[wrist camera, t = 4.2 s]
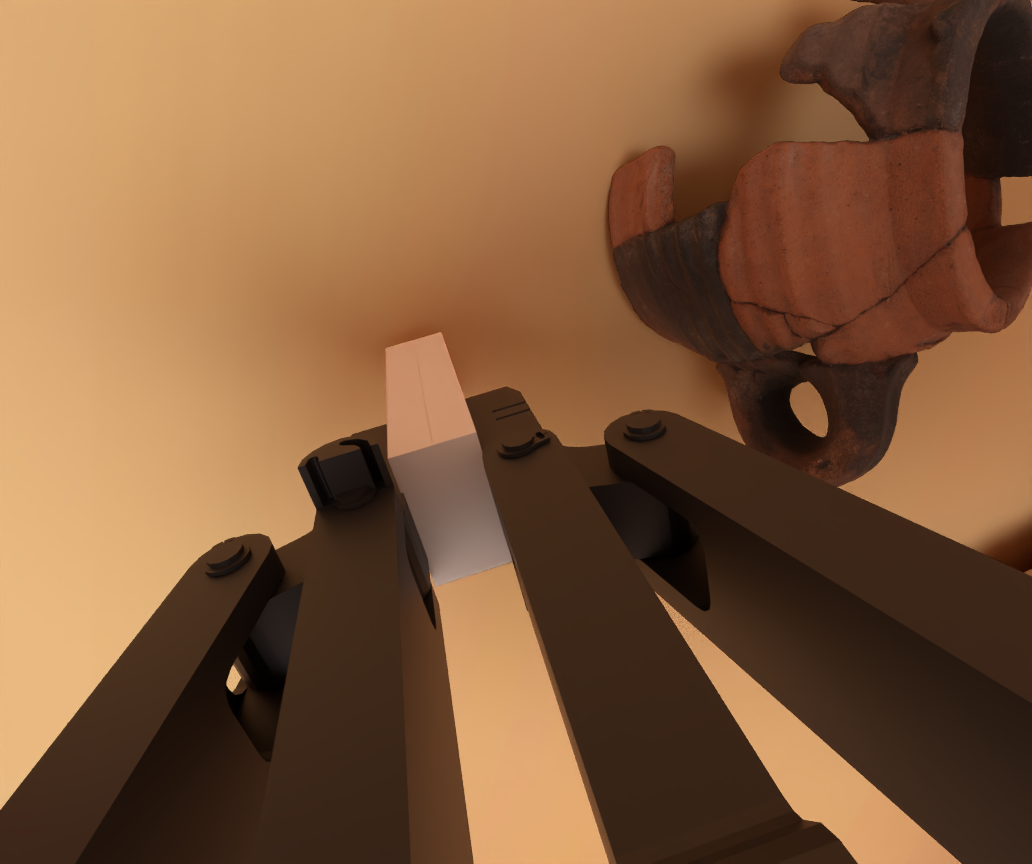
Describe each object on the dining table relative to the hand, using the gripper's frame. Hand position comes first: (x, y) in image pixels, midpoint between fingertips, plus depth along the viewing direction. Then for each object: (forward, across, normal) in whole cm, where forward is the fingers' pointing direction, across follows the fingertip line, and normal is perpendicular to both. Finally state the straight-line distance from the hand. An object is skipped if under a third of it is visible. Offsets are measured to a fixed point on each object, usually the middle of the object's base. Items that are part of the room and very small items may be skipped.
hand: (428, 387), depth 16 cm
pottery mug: (+2, -11, -1) cm, 11 cm away
